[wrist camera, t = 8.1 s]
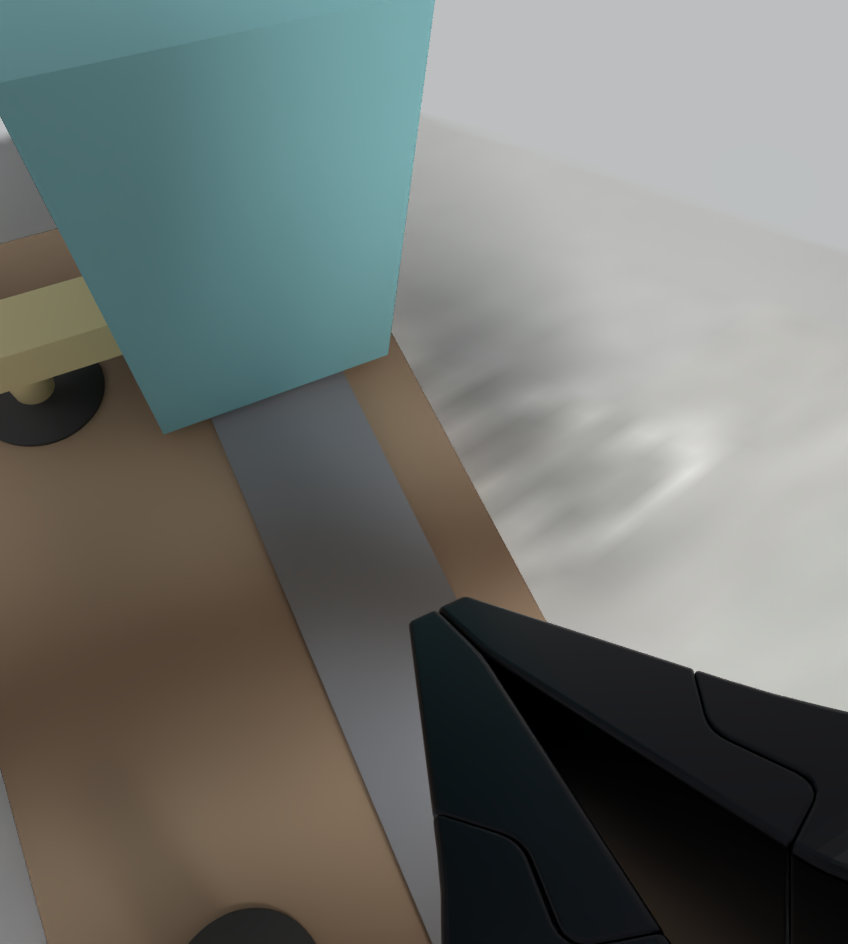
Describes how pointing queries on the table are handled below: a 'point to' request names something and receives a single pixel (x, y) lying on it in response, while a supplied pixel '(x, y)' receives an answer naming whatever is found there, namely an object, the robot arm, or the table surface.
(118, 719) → the board
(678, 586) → the table surface
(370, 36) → the block
